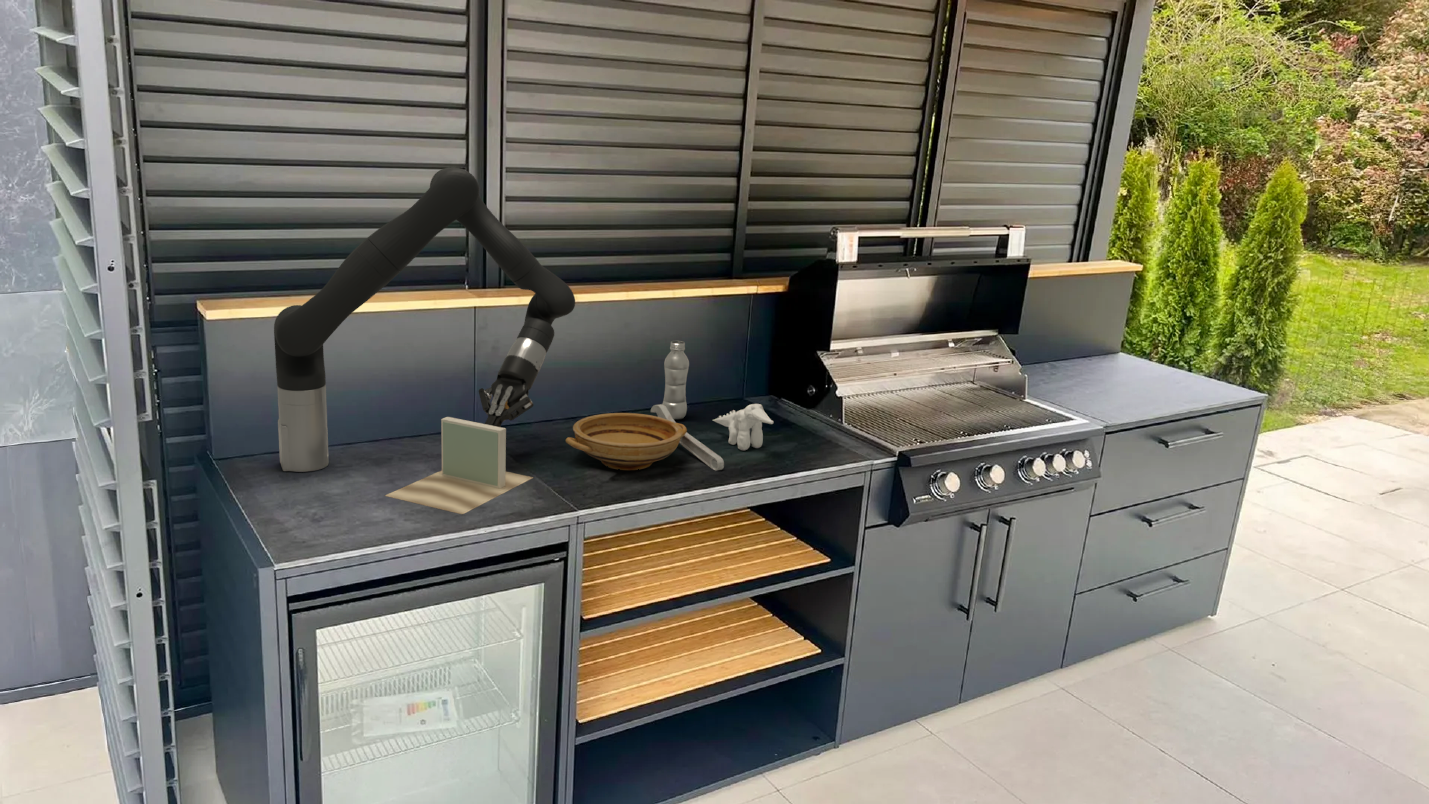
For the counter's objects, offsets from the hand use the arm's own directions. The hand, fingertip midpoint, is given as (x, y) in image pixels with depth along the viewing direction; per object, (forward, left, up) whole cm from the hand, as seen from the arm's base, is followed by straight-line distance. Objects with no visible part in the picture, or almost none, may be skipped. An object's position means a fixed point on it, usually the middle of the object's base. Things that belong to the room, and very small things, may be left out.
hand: (488, 433), depth 214 cm
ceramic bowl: (+32, +2, -10) cm, 34 cm away
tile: (-4, -3, -9) cm, 10 cm away
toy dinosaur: (+63, +6, -10) cm, 64 cm away
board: (-7, -6, -10) cm, 14 cm away
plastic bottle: (+57, +30, -10) cm, 65 cm away
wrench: (+48, +5, -10) cm, 49 cm away
